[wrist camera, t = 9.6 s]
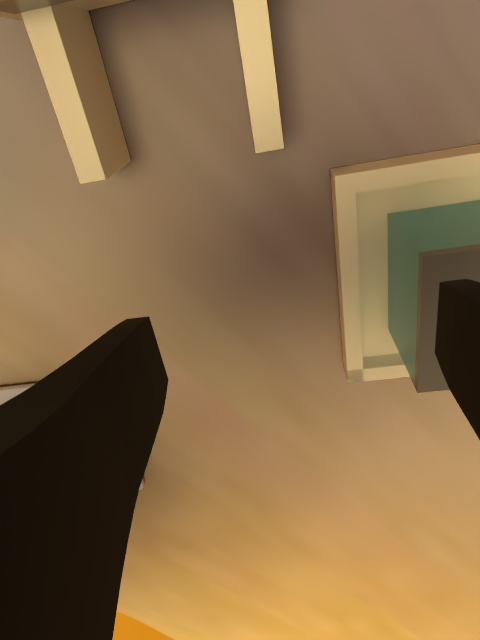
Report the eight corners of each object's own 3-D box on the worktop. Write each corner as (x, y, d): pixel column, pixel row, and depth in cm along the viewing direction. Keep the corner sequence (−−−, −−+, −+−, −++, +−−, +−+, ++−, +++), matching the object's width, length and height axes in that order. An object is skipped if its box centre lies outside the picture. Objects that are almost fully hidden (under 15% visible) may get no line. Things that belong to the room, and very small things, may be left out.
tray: (509, 348, 23) (524, 365, 22) (343, 365, 24) (347, 383, 23) (544, 133, 18) (566, 138, 16) (330, 168, 19) (334, 176, 17)
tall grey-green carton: (471, 319, 22) (522, 382, 17) (388, 328, 22) (417, 392, 18) (483, 199, 19) (549, 239, 14) (387, 213, 19) (422, 256, 15)
